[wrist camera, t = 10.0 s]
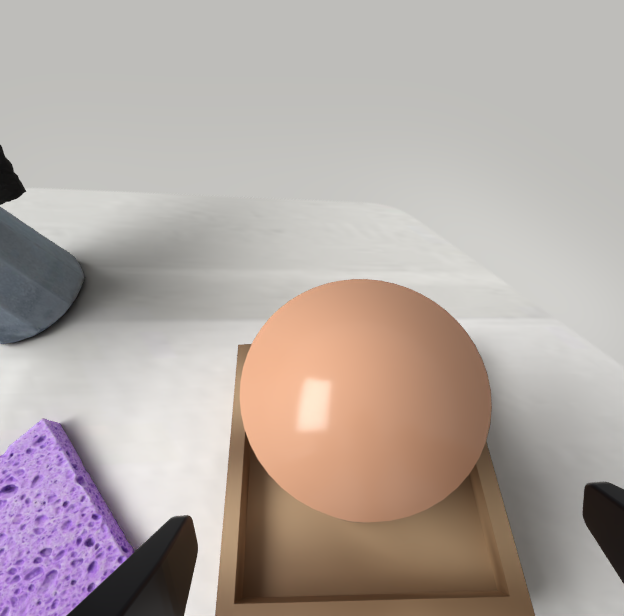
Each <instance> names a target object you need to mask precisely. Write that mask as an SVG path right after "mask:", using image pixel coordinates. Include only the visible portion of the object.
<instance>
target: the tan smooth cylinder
mask: <svg viewBox="0 0 624 616" xmlns="http://www.w3.org/2000/svg"><path fill="white" fill-rule="evenodd" d="M240 408H241V416H242V420H243V425H244V429H245V432H246V435H247V437H248V440H249V443H250V445H251V447H252V449H253V451H254V453H255V455H256V457H257V458H258V460H259V462H260V463H261V464H262V466H263V467H264V468H265V470H266V471H267V473H268V474H269V475H270V476H271V477H272V478H273V479H274V480H275V481H276V482H277V483H278V485H279V486H280V487H281V488H283V489H284V490H285V491H286V492H288V493H289V494H290V495H291V496H293V497H294V498H295V499H297V500H298V501H300V502H302V503H304V504H305V505H307V506H309V507H311V508H312V509H315V510H317V511H320V512H322V513H325V514H327V515H330V516H332V517H335V518H338V519H341V520H345V521H349V522H357V523H365V522H382V521H392V520H396V519H401V518H405V517H409V516H412V515H414V514H417V513H419V512H422V511H424V510H427V509H428V508H430V507H432V506H433V505H435V504H437V503H438V502H440V501H442V500H443V499H445V498H446V497H447V496H448V495H449V494H451V493H452V492H453V491H454V490H455V489H456V488H458V487H459V485H460V484H461V483H462V482H463V481H464V480H465V478H466V477H467V476H468V475H469V474H470V472H471V471H472V469H473V467H474V466H475V464H476V462H477V461H478V459H479V457H480V455H481V453H482V450H483V448H484V445H485V443H486V440H487V435H488V431H489V427H490V420H491V409H492V406H491V390H490V385H489V380H488V375H487V372H486V369H485V366H484V363H483V360H482V358H481V356H480V354H479V352H478V350H477V348H476V346H475V344H474V343H473V341H472V340H471V338H470V337H469V335H468V334H467V332H466V331H465V330H464V329H463V327H462V326H461V325H460V324H459V323H458V322H457V320H455V319H454V318H453V317H452V316H451V315H450V314H449V313H448V312H447V311H446V310H445V309H443V308H442V307H441V306H439V305H438V304H437V303H435V302H434V301H432V300H430V299H429V298H427V297H425V296H424V295H422V294H420V293H418V292H415V291H413V290H411V289H409V288H406V287H403V286H400V285H397V284H393V283H389V282H384V281H378V280H368V279H352V280H343V281H337V282H332V283H327V284H324V285H321V286H318V287H315V288H312V289H310V290H308V291H306V292H304V293H302V294H300V295H298V296H297V297H295V298H293V299H292V300H290V301H289V302H287V303H286V304H285V305H283V306H282V307H281V308H280V309H278V310H277V311H276V312H275V313H274V314H273V315H272V316H271V317H270V318H269V319H268V321H267V322H266V323H265V324H264V326H263V327H262V328H261V330H260V331H259V333H258V334H257V336H256V337H255V339H254V341H253V343H252V345H251V347H250V349H249V351H248V354H247V357H246V360H245V363H244V366H243V371H242V376H241V381H240Z"/></svg>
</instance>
